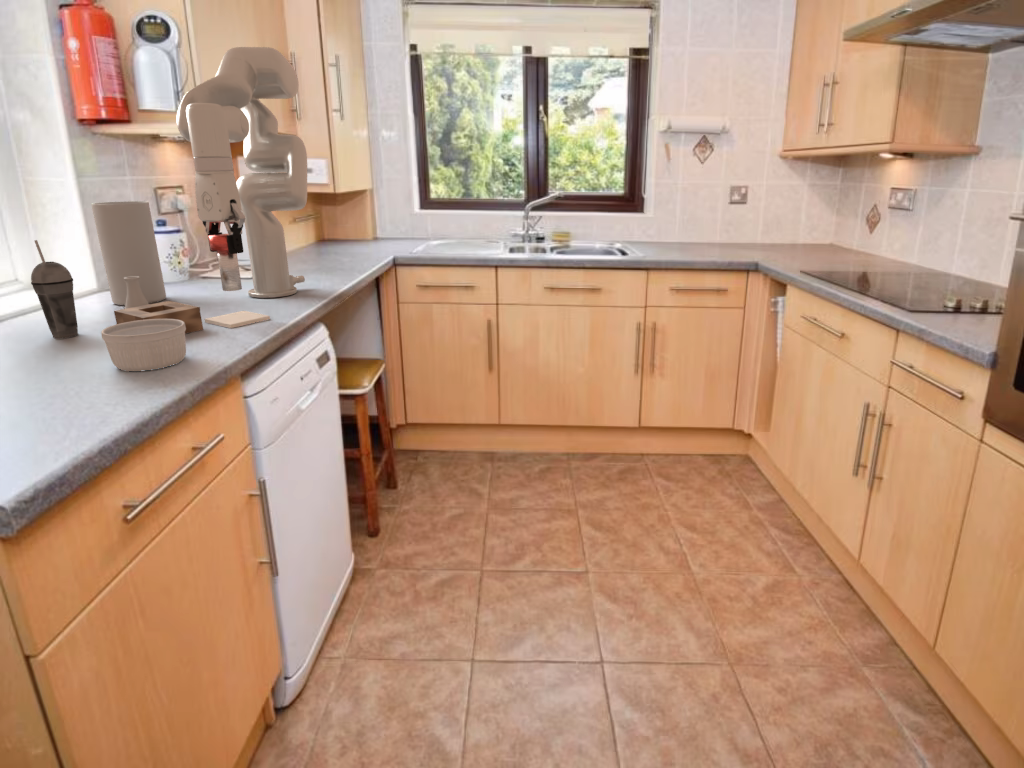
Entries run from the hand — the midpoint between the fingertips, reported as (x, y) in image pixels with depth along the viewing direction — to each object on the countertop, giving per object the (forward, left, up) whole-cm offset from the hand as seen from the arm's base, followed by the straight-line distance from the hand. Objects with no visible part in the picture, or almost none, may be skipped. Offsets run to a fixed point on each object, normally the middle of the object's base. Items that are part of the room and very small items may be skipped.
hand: (226, 251), depth 142 cm
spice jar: (0, 0, -8) cm, 8 cm away
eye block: (+15, -5, -16) cm, 22 cm away
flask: (+12, -20, -16) cm, 28 cm away
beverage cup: (+28, -19, -16) cm, 37 cm away
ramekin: (+28, +16, -16) cm, 36 cm away
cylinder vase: (+1, -42, -16) cm, 45 cm away
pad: (0, 0, -16) cm, 16 cm away
